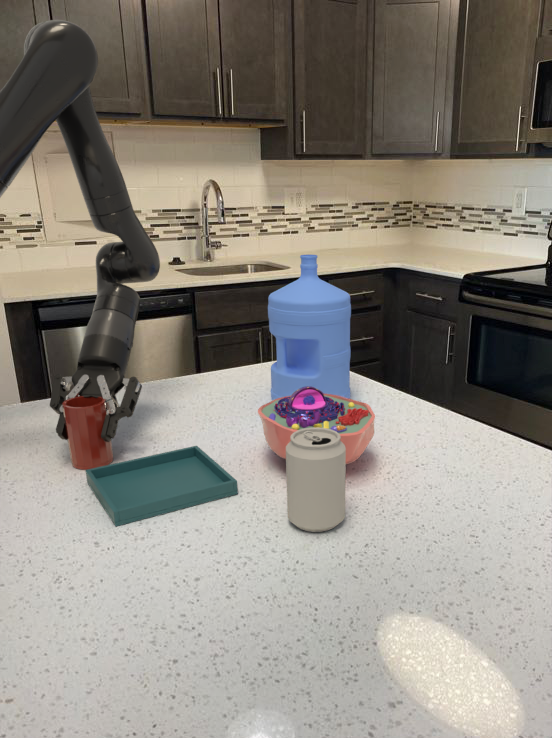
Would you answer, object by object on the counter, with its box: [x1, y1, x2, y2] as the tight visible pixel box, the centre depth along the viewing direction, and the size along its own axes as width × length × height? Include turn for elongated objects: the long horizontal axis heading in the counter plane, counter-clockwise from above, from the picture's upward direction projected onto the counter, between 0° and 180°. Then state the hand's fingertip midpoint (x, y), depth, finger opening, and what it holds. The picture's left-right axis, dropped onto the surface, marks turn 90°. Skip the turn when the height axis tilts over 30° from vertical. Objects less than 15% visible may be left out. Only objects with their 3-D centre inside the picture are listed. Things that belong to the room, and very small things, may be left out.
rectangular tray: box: [84, 445, 239, 527], centre depth 95 cm, size 17×15×2 cm
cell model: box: [257, 386, 376, 466], centre depth 102 cm, size 17×20×11 cm
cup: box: [62, 395, 114, 471], centre depth 103 cm, size 6×6×10 cm
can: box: [285, 427, 347, 533], centre depth 84 cm, size 8×8×12 cm
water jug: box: [267, 254, 352, 401], centre depth 126 cm, size 16×16×28 cm
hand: (84, 438), depth 101 cm, fingers closed on cup, 6 cm apart
